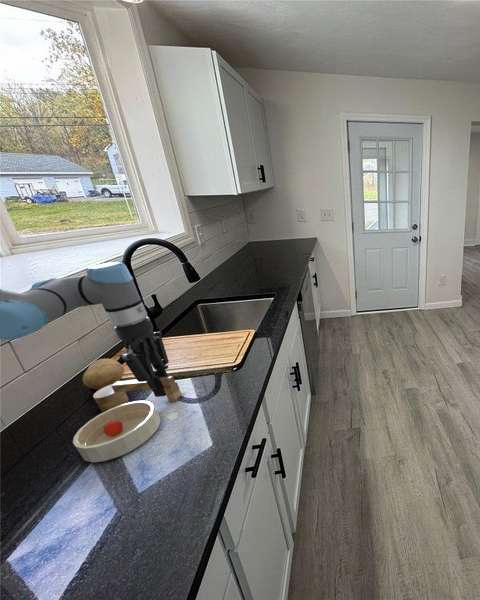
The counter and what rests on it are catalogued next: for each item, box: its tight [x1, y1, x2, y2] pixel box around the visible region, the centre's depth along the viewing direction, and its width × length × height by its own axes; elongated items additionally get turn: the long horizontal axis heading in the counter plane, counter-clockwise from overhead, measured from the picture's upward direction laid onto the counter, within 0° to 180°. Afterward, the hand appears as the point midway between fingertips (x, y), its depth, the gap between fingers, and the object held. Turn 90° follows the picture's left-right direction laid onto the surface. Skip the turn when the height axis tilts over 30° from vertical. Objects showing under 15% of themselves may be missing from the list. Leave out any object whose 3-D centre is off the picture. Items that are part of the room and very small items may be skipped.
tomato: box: [103, 421, 123, 436], centre depth 79 cm, size 4×4×4 cm
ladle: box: [92, 375, 183, 413], centre depth 91 cm, size 22×6×7 cm, turn 94°
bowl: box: [72, 400, 161, 463], centre depth 78 cm, size 16×16×5 cm
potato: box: [82, 358, 125, 391], centre depth 99 cm, size 10×14×8 cm
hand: (164, 392), depth 92 cm, fingers open, 2 cm apart
